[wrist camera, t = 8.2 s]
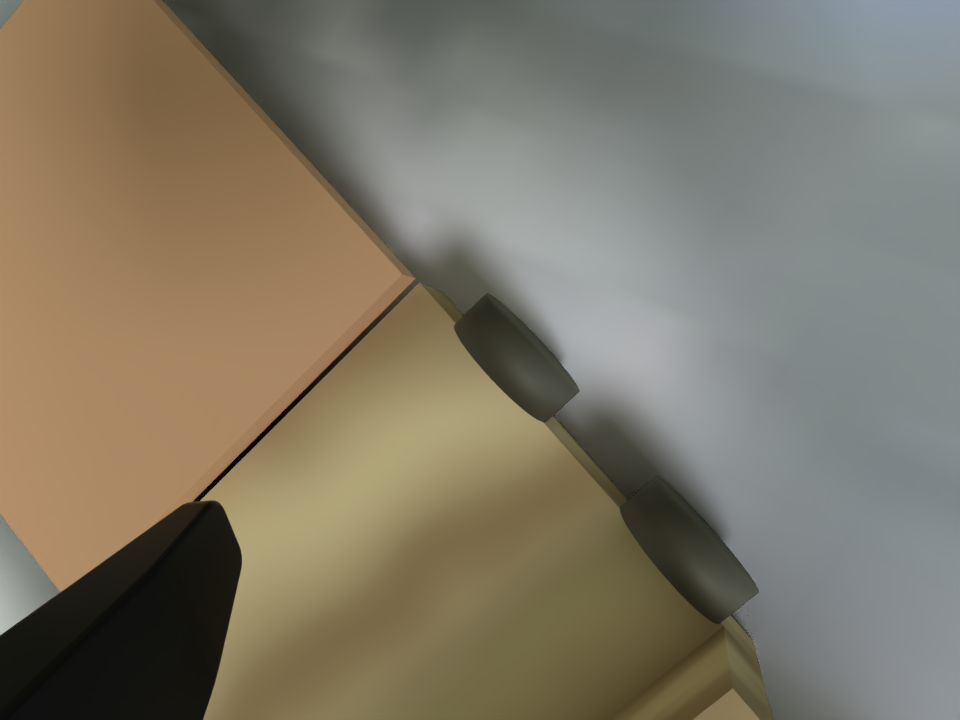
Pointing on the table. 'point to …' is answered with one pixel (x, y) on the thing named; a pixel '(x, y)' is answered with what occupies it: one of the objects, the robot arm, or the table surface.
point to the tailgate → (152, 274)
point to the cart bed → (468, 550)
